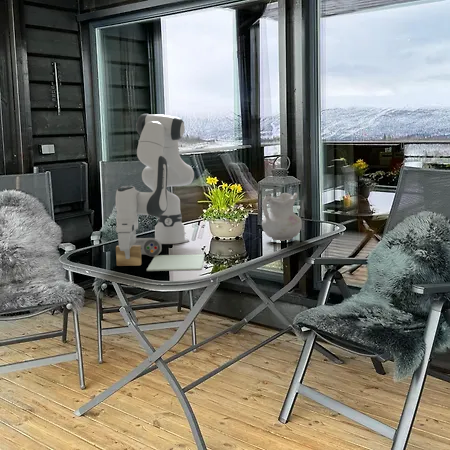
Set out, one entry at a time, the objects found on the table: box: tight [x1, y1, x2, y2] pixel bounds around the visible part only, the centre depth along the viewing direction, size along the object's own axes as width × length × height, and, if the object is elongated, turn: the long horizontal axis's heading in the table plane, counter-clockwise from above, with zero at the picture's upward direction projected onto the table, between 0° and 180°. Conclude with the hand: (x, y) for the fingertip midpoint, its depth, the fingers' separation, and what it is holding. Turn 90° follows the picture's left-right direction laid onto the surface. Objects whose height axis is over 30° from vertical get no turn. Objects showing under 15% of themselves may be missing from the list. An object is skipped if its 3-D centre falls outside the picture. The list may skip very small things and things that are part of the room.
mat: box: [146, 253, 206, 272], centre depth 255 cm, size 28×22×1 cm
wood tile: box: [115, 245, 143, 267], centre depth 253 cm, size 3×10×8 cm, turn 89°
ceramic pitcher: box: [261, 192, 303, 241], centre depth 296 cm, size 22×20×25 cm
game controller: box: [134, 237, 163, 257], centre depth 271 cm, size 20×2×8 cm, turn 83°
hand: (128, 257), depth 253 cm, fingers closed on wood tile, 3 cm apart
